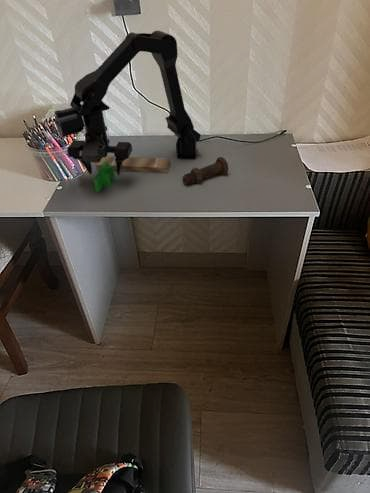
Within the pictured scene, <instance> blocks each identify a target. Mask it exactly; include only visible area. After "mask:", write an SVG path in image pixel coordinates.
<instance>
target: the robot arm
mask: <svg viewBox="0 0 370 493" xmlns="http://www.w3.org/2000/svg"><path fill="white" fill-rule="evenodd" d="M140 52H145V53H151V55H152V57H153V60H155V62H156V64H157V65H158V68H159V71H160V75H161V78H162V82H163V86H164V87H163V88H164V91H165V95H166V100H167V104H168V109H169V114H168V116H165V120H166V123H167V126H166V127H167V129H168V130H169V131H170V132H172V133H173V134H174V136H176V137H177V140H176V142H175V150H176V151H175V152H176V153H175V154H176V155H177V156H176V157H177V159H184V160H185V159H187V160H189V159H190V160H195V159H196V158H197V153H198V148H197V146H198V144H197V143H198V142H199V141H200V140H201V134H200V133H199V132H198V131H197V130H195V127H194V126H195V125H194V124H193V121H192V119H191V117H190V115H189V114H188V112H187V111H186V109H185V103H184V99H183V94H182V91H181V84H180V80H179V76H178V70H177V66H176V65H177V60H178V56H179V54H178V42H177V39H176V37H174V36H173V35H172V34H169V33H167V32H164V31H161V30H154V31H153V32H151V33H146V32H142V33H141V32H139V33H137V32H129V33H128V34H127V35H126V36H125V38H124V39H123V41H122V42H121V43H120V44H119V45H118V46H117V47H116V48H115V49H114V51H112V52H111V54H110V55H108V57H107V58H106V59H105V60H104V61H103V62H102V63H101V65H100V66H99V67H98V68H96V69H95V70H94V71H92V72H89V73H87V74H85V76H83V77H82V78H80V79H79V80H78V81H76V83H75V85H74V93H73V97H72V99H71V102H70V105H69V106H70V107H69V108H64V109H58V110H55V111H54V124H55V127H56V129H57V132H58V133H59V136H60V137H62V138H64V137H68V136H72V135H74V134H78V133H81V132H82V131H84V128H85V133H84V138H85V139H84V140H76V139H75V140H74V139H73V140H72V142H71V143H70V144H69V145H68V146H67V148H66V152H67V157H69V158H73V160H77V161H79V162H80V163H81V164H82V165H83V167H84V168H85V169H86V171H87V172H88V174H89V175H92V174H93V167H92V163H96V164H97V163H99V162H100V161H101V159H102V158H103V157H105V158H106V157H107V156H108V154H109V153H111V154H114V157H116V158H115V161H116V167H117V171H116V173H117V176H120V175H121V172H122V171H121V167H122V163H123V161H124V160H125V159H128V158H129V157H131V154H132V152H133V145H132V144H131V143H130V142H127V141H118V142H117V144H116V145H115V146H114V145H110V143H111V142H110V139H108V134H107V131H108V126H107V125H106V123H105V118H104V111H109V110H110V107H109V105H107V104H106V103H105V102H104V101H103V99H104V97H106V95H107V92H108V90H109V87H110V85H111V83H112V81H113V80H115V78H116V77H117V76H118V75H119V74H120V73H121V72H122V71H123V70H124V69H125V68H126V66H128V65H129V63H130V62H131V61H132V60H133V59H134V58H135V57H136V56H137V55H138V53H140Z"/></svg>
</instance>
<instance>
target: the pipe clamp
mask: <svg viewBox="0 0 370 493" xmlns="http://www.w3.org/2000/svg"><path fill="white" fill-rule="evenodd" d="M94 176H95V177H94V178H93V183H94V189H95V192H97V193H100V192H101V191H102V188H105V187H107V188H111V187H112V183H111V180H116V176H115V171H114V170H113V166H109V165H108V161H104V163H103V165H102V166H101V168H100V170H97V173H96V174H95V175H94Z"/></svg>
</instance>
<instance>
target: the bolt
mask: <svg viewBox="0 0 370 493" xmlns="http://www.w3.org/2000/svg"><path fill="white" fill-rule="evenodd" d="M228 172H229V163H228V162H227V160H226V159H225V157H222V156H219V157H217V158H216V161H215V162H214V163H212V164H209V165H207V166H205V167H200V168H198V167H192V168H191V170H190V172H188V173H185V174H183V176H182V177H181V178H182V180H181V181H182V182H183V183H184V184H185V185H189V184H192V183H194V184H199V183H201V182H202V181H203V180H204V179H205V178H206V179H207V178H208V177H210V176H213V175H216V174H219V173H220V175H222V176H224V175H227V173H228Z"/></svg>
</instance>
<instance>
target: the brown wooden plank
mask: <svg viewBox="0 0 370 493" xmlns="http://www.w3.org/2000/svg"><path fill="white" fill-rule="evenodd" d="M115 158H116V157H115V156H110V155H109V156H108V155H107V157H106V158H105V157H103V158H102V159H101V161H100V162H99V163H96V165H95V167H96V170H97V171H99V170H100V168H101V166H102V165H103V163H104V161H108V165H109V166H113V170H114V172H117V167H116V161H115ZM170 166H171V158H163V157H162V158H160V157H136V156H135V157H133V156H129V158H128V159H125V160H124V161H123V163H122V167H121V172H129V173H133V172H135V173H150V174H151V173H152V174H153V173H156V174H168V172H169V169H170Z"/></svg>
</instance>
